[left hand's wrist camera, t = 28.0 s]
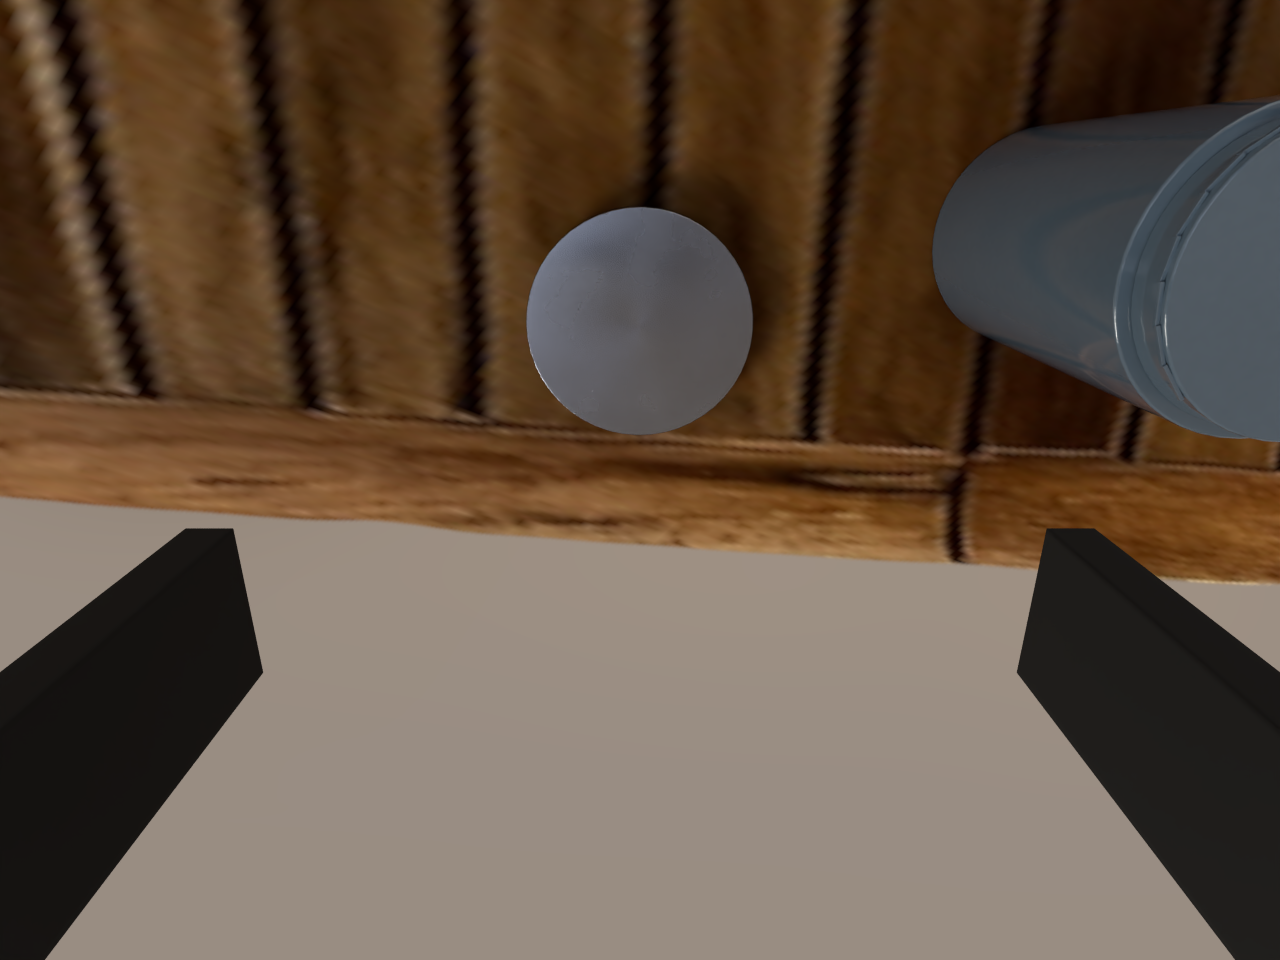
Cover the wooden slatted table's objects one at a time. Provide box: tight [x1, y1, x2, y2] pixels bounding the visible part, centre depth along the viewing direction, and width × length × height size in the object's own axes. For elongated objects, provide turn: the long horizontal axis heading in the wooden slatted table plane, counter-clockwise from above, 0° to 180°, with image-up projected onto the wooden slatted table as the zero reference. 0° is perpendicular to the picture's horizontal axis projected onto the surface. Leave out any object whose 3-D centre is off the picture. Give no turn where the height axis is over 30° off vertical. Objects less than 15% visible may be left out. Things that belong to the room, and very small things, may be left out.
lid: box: [526, 206, 753, 435], centre depth 38 cm, size 11×11×2 cm
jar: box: [932, 95, 1280, 442], centre depth 29 cm, size 10×10×17 cm
